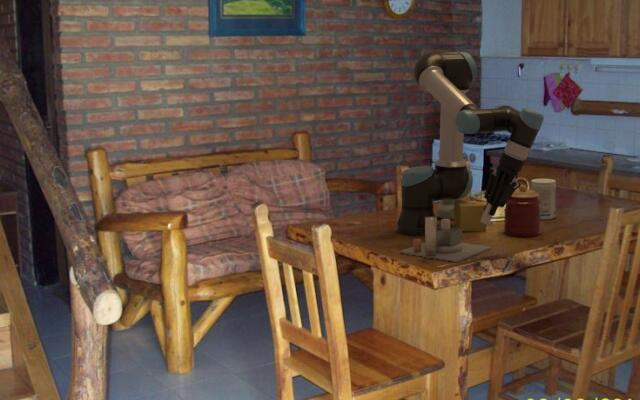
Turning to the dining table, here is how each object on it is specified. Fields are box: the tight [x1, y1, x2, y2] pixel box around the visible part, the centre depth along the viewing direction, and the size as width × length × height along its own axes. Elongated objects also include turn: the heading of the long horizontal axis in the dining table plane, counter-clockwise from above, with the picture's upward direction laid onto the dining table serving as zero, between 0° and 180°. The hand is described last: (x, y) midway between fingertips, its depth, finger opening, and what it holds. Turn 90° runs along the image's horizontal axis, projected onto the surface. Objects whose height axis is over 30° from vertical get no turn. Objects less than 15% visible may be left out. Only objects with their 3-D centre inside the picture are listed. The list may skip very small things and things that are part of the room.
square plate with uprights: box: [398, 218, 492, 263], centre depth 293 cm, size 22×22×11 cm
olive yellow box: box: [454, 199, 487, 233], centre depth 326 cm, size 10×11×10 cm
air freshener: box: [435, 199, 459, 221], centre depth 345 cm, size 11×8×10 cm
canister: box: [503, 184, 542, 237], centre depth 316 cm, size 13×13×18 cm
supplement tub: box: [530, 178, 557, 220], centre depth 342 cm, size 10×10×15 cm
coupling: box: [424, 216, 463, 255], centre depth 289 cm, size 16×8×12 cm, turn 144°
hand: (484, 222), depth 287 cm, fingers closed
